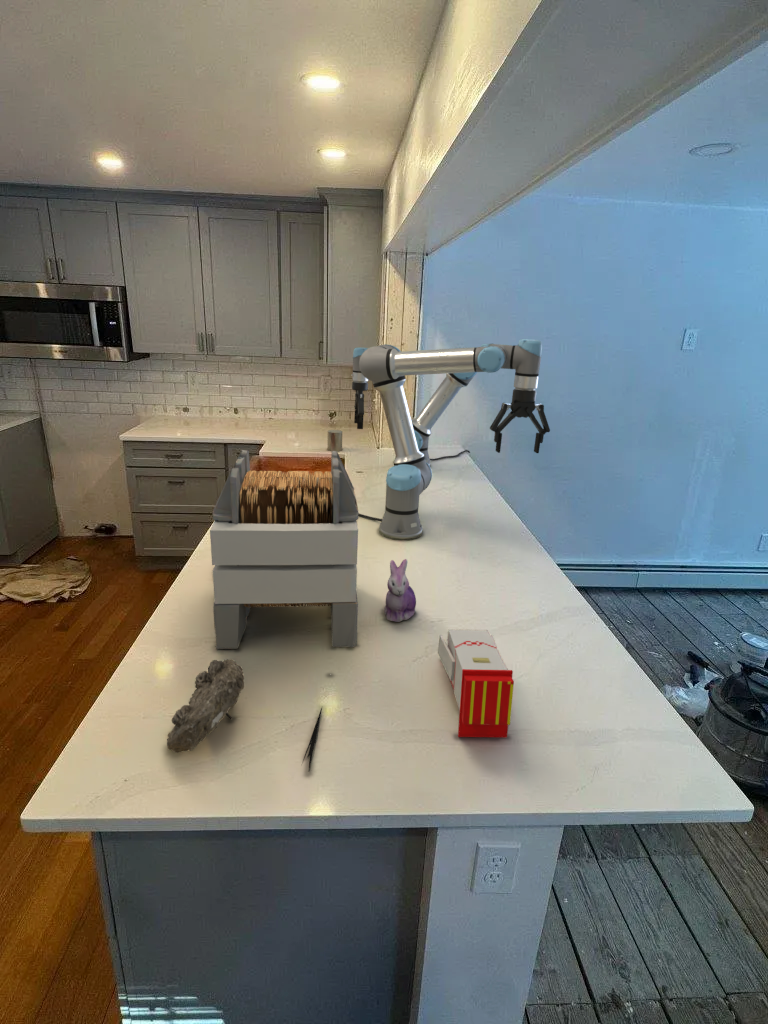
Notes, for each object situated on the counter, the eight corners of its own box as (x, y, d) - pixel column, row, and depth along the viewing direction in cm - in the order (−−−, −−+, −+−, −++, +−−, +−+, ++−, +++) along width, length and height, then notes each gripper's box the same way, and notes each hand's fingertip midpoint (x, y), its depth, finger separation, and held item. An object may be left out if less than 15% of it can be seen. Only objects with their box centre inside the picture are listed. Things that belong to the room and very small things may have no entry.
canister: (343, 451, 310) (343, 432, 306) (328, 451, 308) (328, 432, 304) (341, 447, 317) (341, 429, 313) (326, 448, 315) (326, 429, 312)
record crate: (234, 582, 160) (226, 440, 146) (350, 581, 163) (353, 443, 150) (213, 651, 128) (201, 478, 114) (357, 647, 132) (363, 480, 118)
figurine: (392, 627, 141) (395, 572, 136) (374, 608, 149) (376, 556, 144) (425, 619, 145) (429, 566, 140) (405, 601, 154) (408, 550, 149)
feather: (331, 679, 122) (336, 673, 122) (307, 777, 96) (313, 769, 95) (324, 675, 122) (329, 669, 121) (298, 772, 95) (304, 764, 95)
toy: (488, 613, 130) (523, 677, 101) (484, 667, 133) (517, 744, 104) (435, 612, 130) (455, 676, 101) (432, 666, 133) (451, 743, 103)
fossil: (192, 660, 117) (244, 628, 112) (224, 691, 120) (276, 661, 115) (142, 746, 98) (202, 712, 93) (182, 779, 101) (242, 748, 96)
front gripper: (556, 388, 191) (547, 449, 198) (484, 386, 188) (478, 448, 195) (565, 391, 184) (556, 455, 191) (491, 389, 181) (484, 454, 188)
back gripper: (349, 377, 279) (348, 420, 286) (354, 384, 256) (353, 431, 263) (365, 378, 280) (363, 421, 287) (371, 385, 257) (369, 431, 264)
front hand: (517, 452), depth 193 cm, fingers open, 13 cm apart
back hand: (358, 426), depth 275 cm, fingers open, 13 cm apart
